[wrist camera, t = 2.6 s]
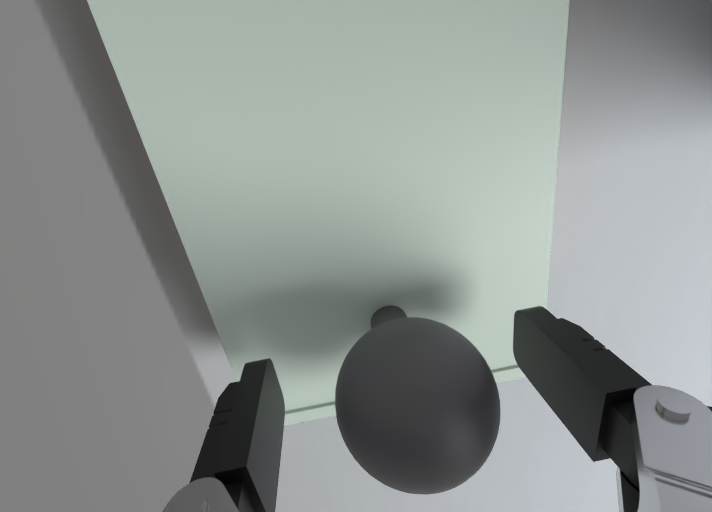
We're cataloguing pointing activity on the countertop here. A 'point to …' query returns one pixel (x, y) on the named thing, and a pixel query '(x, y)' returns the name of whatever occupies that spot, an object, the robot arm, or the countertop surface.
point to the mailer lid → (359, 199)
